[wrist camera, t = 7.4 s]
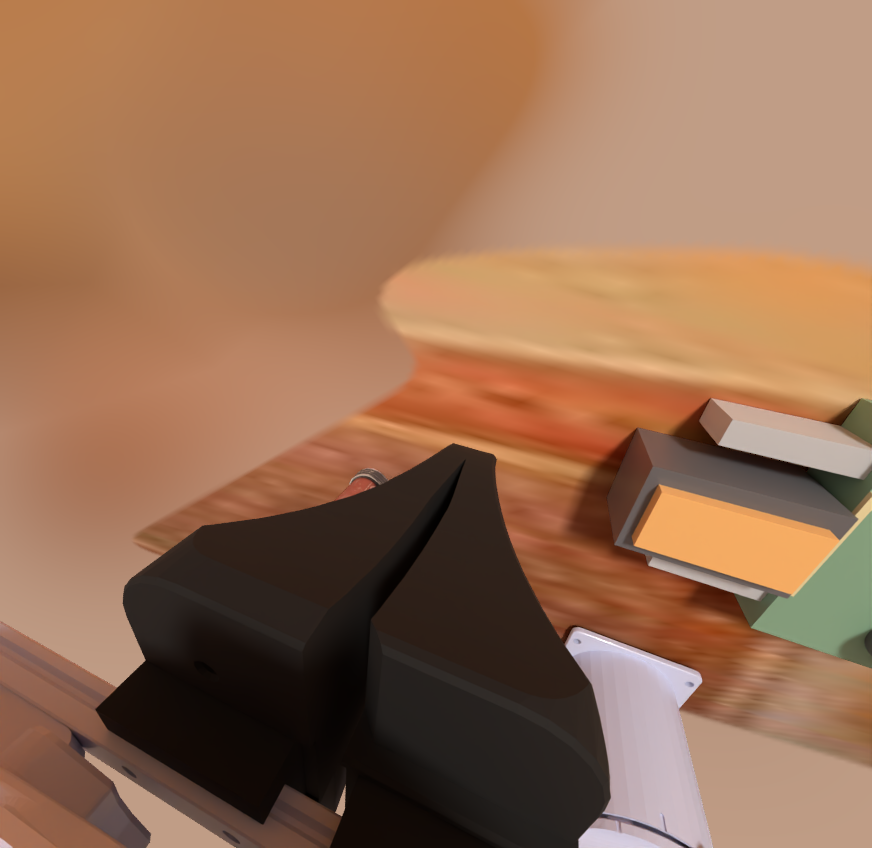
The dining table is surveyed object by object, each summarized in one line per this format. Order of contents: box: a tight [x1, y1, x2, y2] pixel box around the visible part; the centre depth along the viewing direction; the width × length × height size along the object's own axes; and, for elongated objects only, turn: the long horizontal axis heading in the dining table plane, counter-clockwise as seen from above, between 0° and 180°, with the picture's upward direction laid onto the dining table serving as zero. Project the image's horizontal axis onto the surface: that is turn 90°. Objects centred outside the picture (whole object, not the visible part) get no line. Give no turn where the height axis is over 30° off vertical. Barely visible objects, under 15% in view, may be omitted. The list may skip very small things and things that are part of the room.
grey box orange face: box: [607, 428, 859, 599], centre depth 16 cm, size 4×7×5 cm, turn 82°
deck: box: [645, 398, 872, 668], centre depth 15 cm, size 11×13×4 cm
